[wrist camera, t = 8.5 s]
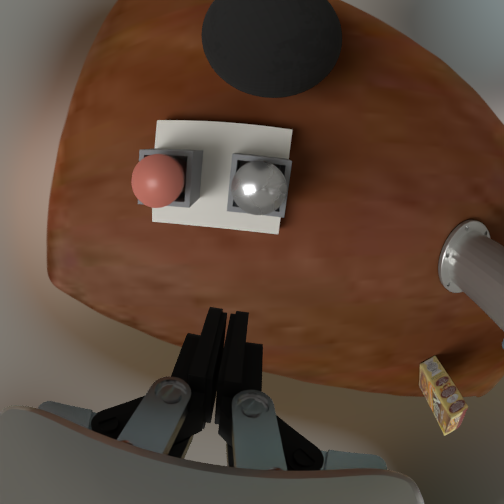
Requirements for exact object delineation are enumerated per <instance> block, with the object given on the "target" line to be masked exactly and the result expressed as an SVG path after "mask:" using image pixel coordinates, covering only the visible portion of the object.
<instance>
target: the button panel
mask: <svg viewBox="0 0 504 504" xmlns="http://www.w3.org/2000/svg"><path fill="white" fill-rule="evenodd" d="M291 138H292V130H291V129H284V128H277V127H269V126H261V125H252V124H241V123H229V122H214V121H190V120H157V127H156V139H155V149H144V150H140V153H139V161H141V160H142V159H143V158H145V157H147V156H149V155H153V154H166V155H169V156H171V157H173V158H181V159H183V160H184V161H186V162H187V170H186V185H185V187H184V188H183V190H182V192H181V194H180V195H179V197H178V198H177V199H176V200H175V201H173V202H172V203H171V204H169V205H167V206H165V207H161V208H152V222H164V223H174V224H185V225H195V226H206V227H216V228H225V229H235V230H244V231H253V232H262V233H271V234H278V232H279V225H280V219H281V217H283V218H284V215H285V208H286V201H287V194H288V187H289V180H290V172H291V165H292V161H291V160H289V153H290V145H291ZM256 160H262V161H267V162H269V163H272V164H273V165H275V166H276V167H277V168H278V169H279V170H280V171H281V172H282V174H283V175H284V177H285V180H286V184H287V192H286V196H285V199H284V201H283V203H282V204H281V205H280V206H279V208H277V209H276V210H275V211H273V212H271V213H269V214H265V215H253V214H249V213H247V212H245V211H243V210H242V209H241V208H240V207H239V206H238V205H237V204H236V203H235V201H234V199H233V196H232V192H231V184H232V180H233V177H234V175H235V174H236V172H237V171H238V170H239V168H241V167H242V166H243V165H244V164H246V163H248V162H251V161H256ZM138 204H143V203H142V202H140V201H139V200H138Z"/></svg>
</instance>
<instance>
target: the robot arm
mask: <svg viewBox="0 0 504 504" xmlns="http://www.w3.org/2000/svg"><path fill="white" fill-rule="evenodd" d="M438 272H439V278H440V281H441V283H442V285H443V286H444V287H445V288H446V289H447V290H449V291H450V292H453V293H459V292H464V293H465V294H466V295H468V296H469V297H470V298H471V299H472V300H473V301H474V302H475V303H476V304H477V305H478V306H479V307H480V308H481V309H482V310H483V311H484V312H485V313H486V314H487V315H488V316H489V317H490V318H491V319H492V320H493V321H494V322H495V323H496V324H497V325H498V326H499V327H500V328H501V329H502V330H503V331H504V246H502V245H501V244H499V243H497V242H496V241H494V240H492V239H490V234H489V231H488V229H487V228H486V226H485V225H484V224H483V223H481V222H479V221H477V220H467V221H464V222H462V223H461V224H459V225H458V226H457V227H456V228H455V229H454V230H453V231H452V232H451V234H450V235H449V237H448V238H447V240H446V242H445V244H444V246H443V248H442V251H441V254H440V259H439V266H438ZM248 315H249V313H248V312H240V311H236V314H231V315H230V320H229V325H228V330H227V335H226V340H225V345H224V339H225V329H226V319H227V313H224V312H223V309H220V308H213V307H210V308H209V311H208V314H207V317H206V320H205V323H204V326H203V330H202V333H201V335H195V334H190V333H188V334H187V336H186V338H185V341H184V343H183V346H182V349H181V351H180V354H179V357H178V359H177V362H176V364H175V367H174V370H173V373H172V375H171V377H163V378H160V379H158V380H156V381H155V382H154V383H153V384H152V386H151V387H150V389H149V390H148V392H147V393H146V395H145V396H143V397H140V398H137V399H135V400H132V401H129V402H126V403H124V404H120V405H117V406H114V407H111V408H108V409H105V410H103V411H100V412H98V413H95V412H93V411H92V410H90V409H85V408H80V407H75V406H70V405H66V404H61V403H57V402H53V401H47V402H44V403H42V404H41V405H40V406H39V407H38V408H33V407H29V406H9V407H7V408H5V409H3V410H2V411H1V412H0V504H424V501H423V498H422V495H421V493H420V491H419V489H418V487H417V485H416V484H415V482H414V481H413V480H412V479H411V478H410V477H408V476H406V475H404V474H401V473H398V472H395V471H390V470H387V466H386V463H385V461H384V460H383V459H382V458H381V457H379V456H377V455H372V454H359V453H350V452H341V451H334V450H328V452H326V451H320V450H319V449H318V448H317V447H316V446H315V445H314V444H312V443H311V442H310V441H308V440H307V439H306V438H304V437H303V436H302V435H300V434H299V433H298V432H297V431H295V430H294V429H293V428H291V427H290V426H289V425H288V424H286V423H285V422H284V421H283V420H282V419H280V418H279V417H278V416H276V413H275V408H274V404H273V401H272V399H271V398H270V397H269V396H268V395H266V394H265V393H263V392H261V388H262V355H263V345H262V344H255V343H247V342H246V334H247V324H248ZM216 392H217V396H216ZM215 397H217V398H216V411H215V424H219V431H218V434H219V435H220V436H221V437H222V438H223V439H224V440H225V441H226V452H227V453H226V454H227V466H220V465H213V464H206V463H201V462H195V461H191V460H185V459H184V458H185V455H186V453H187V451H188V449H189V446H190V444H191V442H192V439H193V435H194V434H196V433H198V432H200V431H202V429H204V427H205V423H206V422H207V423H210V422H211V418H212V413H213V407H214V402H215Z"/></svg>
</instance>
